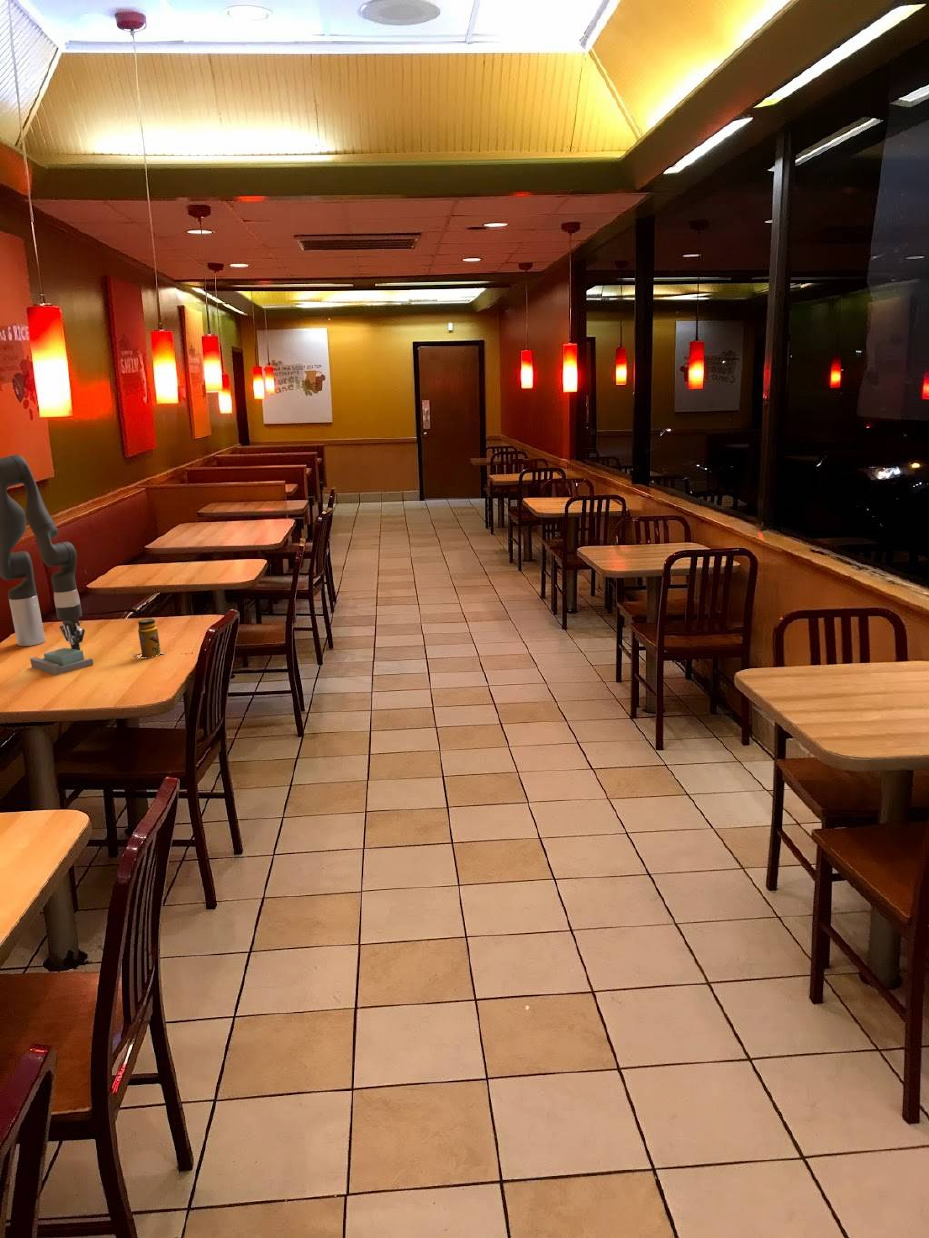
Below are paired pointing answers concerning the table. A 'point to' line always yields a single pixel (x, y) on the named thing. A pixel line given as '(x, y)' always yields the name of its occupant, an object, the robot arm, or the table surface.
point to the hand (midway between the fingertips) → (76, 654)
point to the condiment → (148, 638)
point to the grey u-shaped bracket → (54, 668)
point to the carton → (64, 656)
